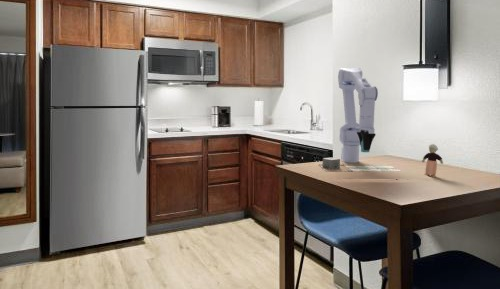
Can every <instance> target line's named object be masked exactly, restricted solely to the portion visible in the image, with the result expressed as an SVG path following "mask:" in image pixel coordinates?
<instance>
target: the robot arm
mask: <svg viewBox="0 0 500 289" xmlns="http://www.w3.org/2000/svg"><path fill="white" fill-rule="evenodd" d="M337 79H338V80H337V81H338V87H339V88H340V89H341V90H342V96H343V98H342V99H343V106H344V107H343V109H344V121H345V123H344V124H343V125H342V126H340V128H339V142H340V143H341V144H342V147H341V154H340V155H341V159H340V161H342V162H344V163H359V161H360V146H361V141H363V147H364V150H371V146H372V143H373V142H374V138H375V137H376V133H375V126H374V125H375V109H376V108H375V106H376V101H377V99H378V95H379V91H378V90H379V89H378V88H377V86H372V85H371V84H370V83H369V81H368V80H367V79H366V78H365V77H364V78H363V69H361V68H360V67H359V68H344V67H341V68H340V69H339V71H338V74H337ZM354 91H356V92H357V93H358V94H357V95H358V96H357V97H358V104H359V120H358V122H359V123H357V117H356V105H355V95H354ZM362 139H363V140H362Z"/></svg>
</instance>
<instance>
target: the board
mask: <svg viewBox="0 0 500 289" xmlns="http://www.w3.org/2000/svg"><path fill="white" fill-rule="evenodd" d="M318 166H319V167H320V168H321V169H323V170H324V171H325V172H341V169H340V170H335V169H330V170H327V168H324V167H323V165H322V164H318ZM341 166H345V167H346V168H347V169H349V171H351V172H356V171H357V172H371V171H372V172H401V170H400V169H399V168H396V167H394V166H392V165H345V164H340V167H341Z"/></svg>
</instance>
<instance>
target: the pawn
mask: <svg viewBox="0 0 500 289" xmlns="http://www.w3.org/2000/svg"><path fill="white" fill-rule="evenodd" d="M362 140H363V139H362ZM370 150H371V149H370ZM370 150H364V147H363V141H361V145H360V152H361V153H370Z"/></svg>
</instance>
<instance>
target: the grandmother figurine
mask: <svg viewBox="0 0 500 289" xmlns="http://www.w3.org/2000/svg"><path fill="white" fill-rule="evenodd" d="M428 151H429V152H428V153H426V154H425V155H424V156H423V157H422V160H421V163H425V162H426V165H425V170H424V171H425V173H424V174H423V175H424V176H427V177H431V178H436V177H437V176H436V175H437V169H438V168H437V167H438V161H439V163H440V164H442V165H443V164H444V161H443V158H442V157H441V156H440V154H438V153H436V152H437V151H439V148H438V145H436V144H435V143H430V144H429V145H428Z"/></svg>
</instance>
